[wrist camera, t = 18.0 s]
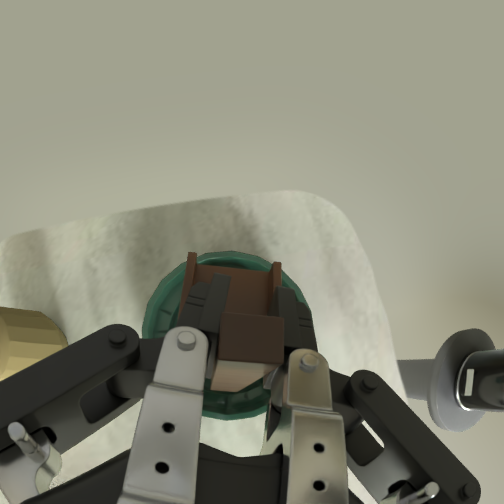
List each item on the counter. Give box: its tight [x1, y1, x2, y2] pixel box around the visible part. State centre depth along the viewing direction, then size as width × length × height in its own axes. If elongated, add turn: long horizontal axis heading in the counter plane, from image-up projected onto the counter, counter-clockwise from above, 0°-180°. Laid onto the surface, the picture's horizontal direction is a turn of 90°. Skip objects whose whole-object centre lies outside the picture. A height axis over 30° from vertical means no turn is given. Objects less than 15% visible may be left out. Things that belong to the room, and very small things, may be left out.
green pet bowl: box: [142, 251, 314, 421], centre depth 27 cm, size 15×15×6 cm
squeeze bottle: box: [0, 307, 68, 381], centre depth 17 cm, size 8×8×18 cm
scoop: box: [178, 252, 284, 392], centre depth 15 cm, size 9×7×12 cm
